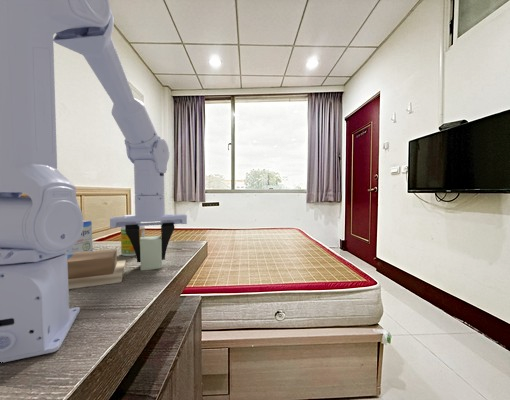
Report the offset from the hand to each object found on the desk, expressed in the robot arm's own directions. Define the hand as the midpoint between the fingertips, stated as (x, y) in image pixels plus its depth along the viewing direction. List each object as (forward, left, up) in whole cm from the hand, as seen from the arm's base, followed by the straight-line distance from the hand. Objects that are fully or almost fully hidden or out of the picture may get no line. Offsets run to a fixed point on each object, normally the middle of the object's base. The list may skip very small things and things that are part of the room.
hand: (151, 259), depth 53 cm
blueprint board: (-2, +10, -1) cm, 10 cm away
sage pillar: (0, 0, -1) cm, 1 cm away
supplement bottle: (+13, +4, -2) cm, 14 cm away
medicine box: (+13, +17, -2) cm, 21 cm away
